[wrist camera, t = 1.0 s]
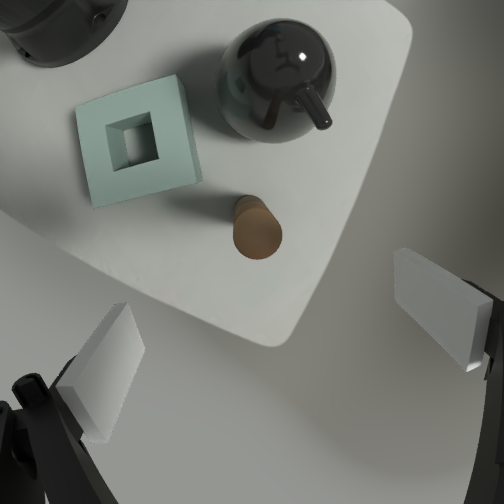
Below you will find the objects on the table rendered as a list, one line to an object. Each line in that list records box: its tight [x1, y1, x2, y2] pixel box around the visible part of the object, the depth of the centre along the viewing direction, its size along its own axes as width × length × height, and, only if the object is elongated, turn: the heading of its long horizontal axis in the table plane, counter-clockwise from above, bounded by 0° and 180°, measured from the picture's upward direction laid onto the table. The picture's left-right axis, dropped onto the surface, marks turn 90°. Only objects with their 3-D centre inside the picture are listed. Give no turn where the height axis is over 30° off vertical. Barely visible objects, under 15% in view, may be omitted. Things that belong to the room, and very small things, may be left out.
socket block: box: [75, 74, 203, 209], centre depth 28 cm, size 10×10×5 cm
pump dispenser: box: [214, 18, 336, 144], centre depth 22 cm, size 10×10×15 cm
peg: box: [233, 195, 282, 260], centre depth 27 cm, size 3×3×12 cm
